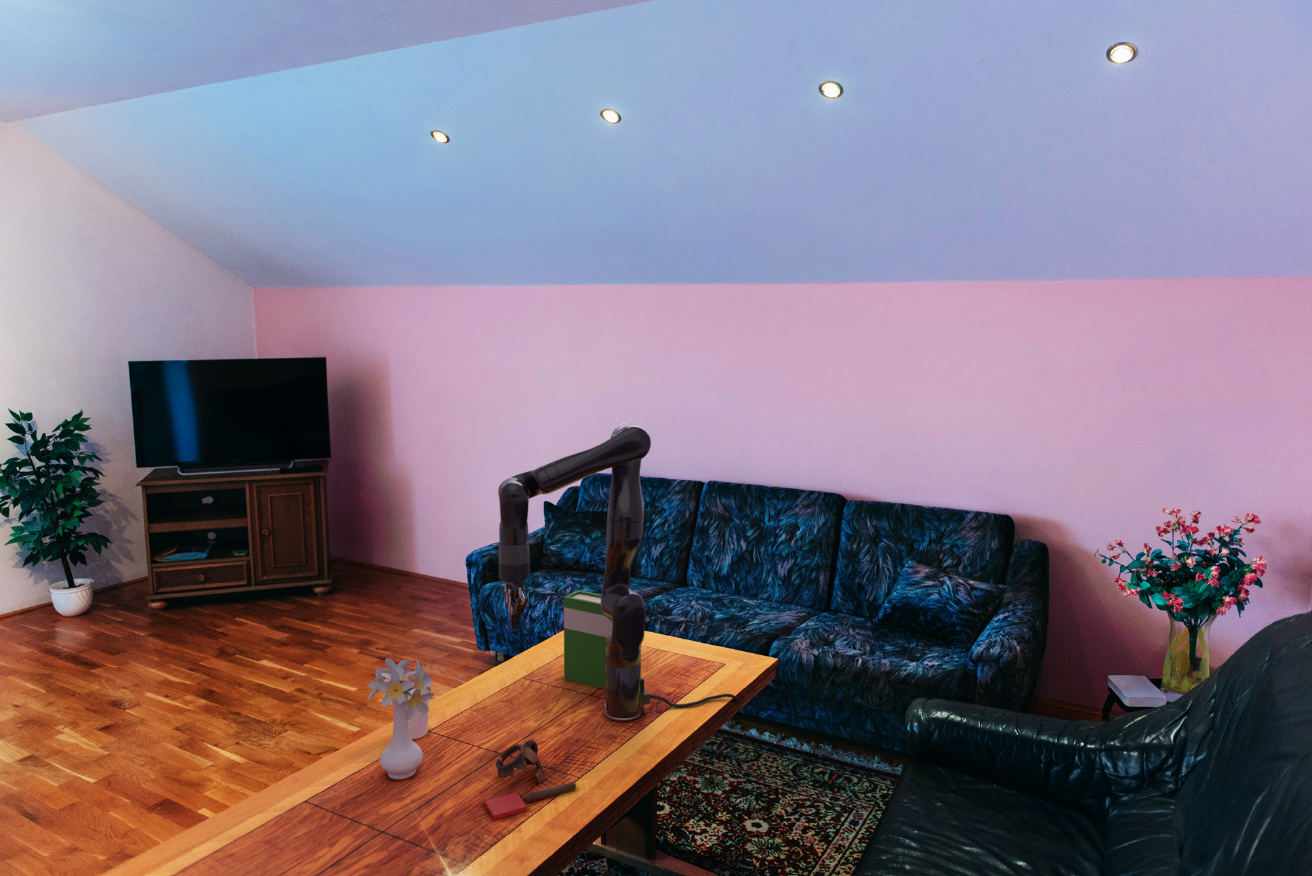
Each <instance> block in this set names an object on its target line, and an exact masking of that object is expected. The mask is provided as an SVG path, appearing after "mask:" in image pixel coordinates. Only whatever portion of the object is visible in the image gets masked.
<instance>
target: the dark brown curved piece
mask: <svg viewBox="0 0 1312 876" xmlns="http://www.w3.org/2000/svg"><path fill="white" fill-rule="evenodd" d="M518 751H519V753H518V754H517V756H516V757H515V758H514V759H513V760H511V761H510V762H509V763H507V764H504V762H505V761H506V760H507V759H508V757H510V756H512V754H514V753H515V752H518ZM538 754H539V747H538V744H537V742H536V741H535V740H534V739H529V740H527V741H525V742H524V743H515V744H512V745H511V746H508V747H507V748H506V749H505V750H503V752H501V754H500V755H499V757H500V758H501V759H500V758H498V759H497V760H496V761H495V768H496V769H497V776H498V777H499V778H500V779H501V778H507V777H509V778H511V779H515V769H516V770H518V771H521V770H522V771H526V770H528V766H534V765H535V768H536V773H535V774H534V777H535V778H536V780H537V783H538V784H540V783H541V782H542V781H543V779H544V775H545V772H544V770H543V767H542V765H541V761H540V759H539V756H538Z"/></svg>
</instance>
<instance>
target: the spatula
mask: <svg viewBox="0 0 1312 876" xmlns="http://www.w3.org/2000/svg"><path fill="white" fill-rule="evenodd" d="M576 788H577V784H576V783H575V782H574V781H569V782H567V783H563V784H560V785H556V786H553V787H549V788H544V789H541V790H537V791H534V792H531V793H527V794H526V795H525V796H524V801H525V802H524V801H523V799H522V798H521V797H520V795H519V794H518V793H517V792H514V793H510V794H507V795H506V794H505V795H503V796H498V797H495V798H492V799H488V800H485V801H484V807H485V808H486V810H487V811H488V813H489V814H490V816H491V818H492V820H493V821H495V820H499V819H503V818H506V817H509V816H510V817H511V816H513V815H517V814H520V813H524V812H527V811H528V808H527V805H526V803H531V802H536V801H539V800H542V799H543V800H544V799H545V798H549V797H553V796H557V795H560V794H563V793H568V792H571V791H574V790H576Z"/></svg>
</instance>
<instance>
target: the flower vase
mask: <svg viewBox="0 0 1312 876" xmlns="http://www.w3.org/2000/svg"><path fill="white" fill-rule="evenodd" d="M415 662H416V663H415V667H414V670H411V669H407V667H408V666H409V663H410V660H409V659H402V660H401V661H399V662H398V663H397V665H396V662H395V661H394V660H393V659H391V658H390V657H387V658H385V659H384V663H385V665H386V667H387V668H386V667H383V668H380V667H379V666H378V665H376V668H375V679H372V680H371V681H370V682H369V683H368V689H370V690H371V692H370V693H369V695H368V697H367V702H368V701H370V700H371V699H372V698H373V697H374V696H375V695H376V694H377V693H378V692H381V693H384V694H385V695H384V696H383V697H382V699H381V706H382V707H383V708H385V707H388V706H389V705H392V715H393V718H392V719H393V720H392V721H393V723H392V727H393V728H392V736H391V739H390V742H389V743H388V745H387V746H386V747H385V748H384V750H382V752H381V754H380V758H379V765H380V768H381V769H382V770H383V771H384V772H385V773H387V777H389V778H390V779H392V780H405V779H409V778H411V777H413V776H414V775H415V774H416V773H417V769H418V768H419V767H420V766H421V764H422V763H423V762H424V752H423V750H422V748H421V746H420V745H419V744H417V743H416V742H415V741H414V739H412V738H411V736H410V734H409V729H408V720H409V719H410V718H411V717H412V716H413V715H414V712H415V708H416V710H417V711H418V712H420V713H422V714H426V713H427V712H428V707H427V705H426V704H425V703H424V702H423V701H427V700H429V701H430V700H433V697H434V696H435V693H434V692H431V691H432V689H431V686H432V685H433V683H434V682H433V681H434V680H433V678H431V677H429V673H428V671H426V670H424V668H423V666H421V664H420V661H419V660H418V659H416V661H415ZM410 677H412V679H411V680H409V679H410ZM384 678H385V679H384ZM413 689H416V690H415V691H414V692H413V694H411V693H410V690H413ZM409 696H410V698H409V699H408V697H409ZM407 707H408V709H407Z"/></svg>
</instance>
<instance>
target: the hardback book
mask: <svg viewBox="0 0 1312 876" xmlns="http://www.w3.org/2000/svg"><path fill="white" fill-rule="evenodd" d="M611 635H612V621H611V620H609V619H608V618H607V617H606V616H605V615H604V614H603V612H602V610H601V593H597V592H590V591H587V590H580V589H578V590H576V591H574V592H572V593H569V594H567V595H565V596H563V678H564V680H566V681H567V680H568V681H572V682H576V683H579V684H584V685H587V686H591V687H595V688H599V689H603V690H605V642H606V639H607V638H608V637H609V636H611Z"/></svg>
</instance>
